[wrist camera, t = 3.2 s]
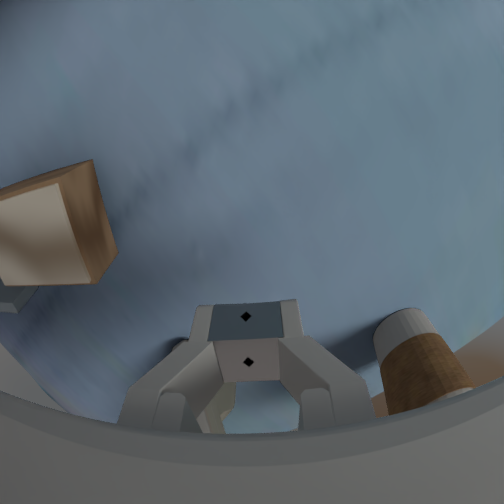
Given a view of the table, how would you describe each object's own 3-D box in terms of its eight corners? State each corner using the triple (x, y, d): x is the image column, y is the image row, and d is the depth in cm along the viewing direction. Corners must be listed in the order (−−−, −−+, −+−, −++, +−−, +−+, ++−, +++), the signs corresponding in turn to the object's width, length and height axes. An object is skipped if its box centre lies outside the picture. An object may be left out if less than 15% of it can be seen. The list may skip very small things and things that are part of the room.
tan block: (11, 182, 18) (-29, 208, 13) (100, 154, 17) (57, 178, 13) (36, 254, 21) (4, 288, 17) (124, 244, 21) (95, 286, 16)
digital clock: (184, 326, 25) (160, 434, 16) (268, 363, 27) (271, 463, 18) (132, 394, 32) (112, 466, 22) (195, 419, 34) (186, 489, 25)
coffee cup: (343, 347, 26) (376, 495, 13) (402, 284, 22) (480, 439, 9) (396, 364, 28) (435, 482, 15) (449, 312, 24) (514, 432, 11)
